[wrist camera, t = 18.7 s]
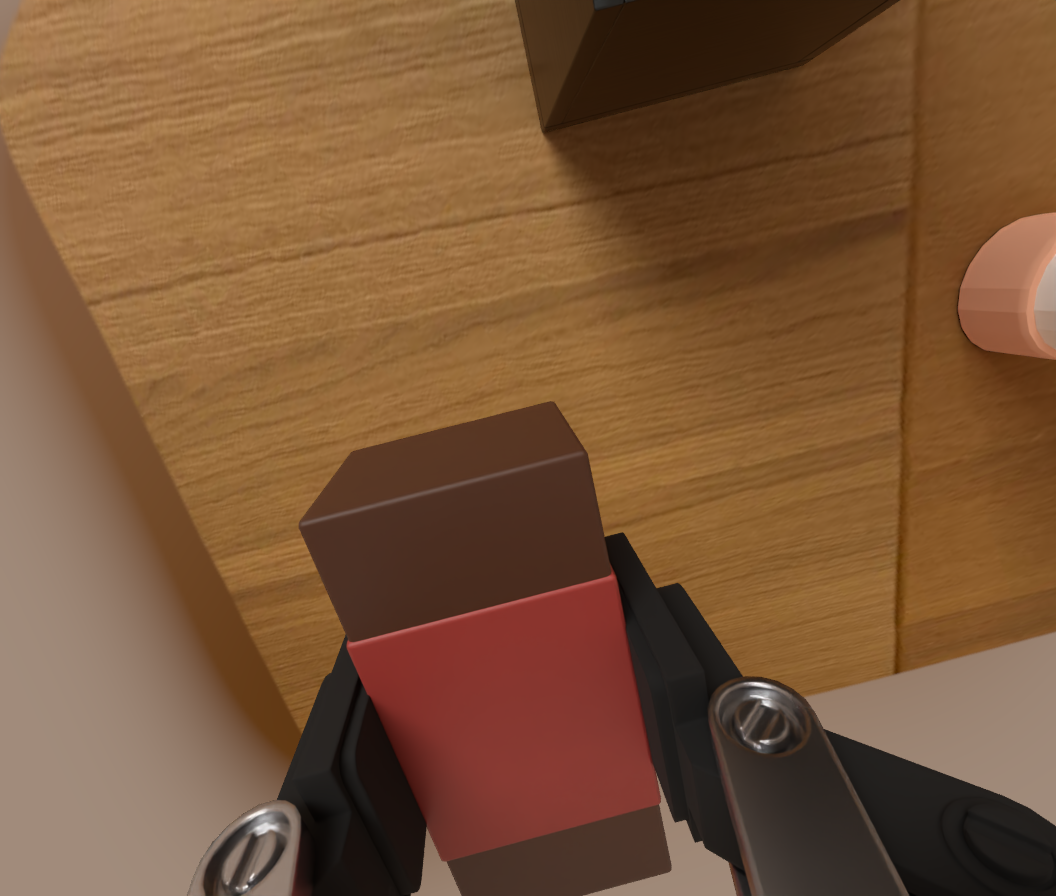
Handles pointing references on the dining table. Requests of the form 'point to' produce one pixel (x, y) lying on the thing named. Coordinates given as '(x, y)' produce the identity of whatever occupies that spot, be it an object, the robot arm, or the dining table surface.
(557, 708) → the chocolate bar
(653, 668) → the robot arm
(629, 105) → the trash bin
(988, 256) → the salt shaker
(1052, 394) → the dining table surface
